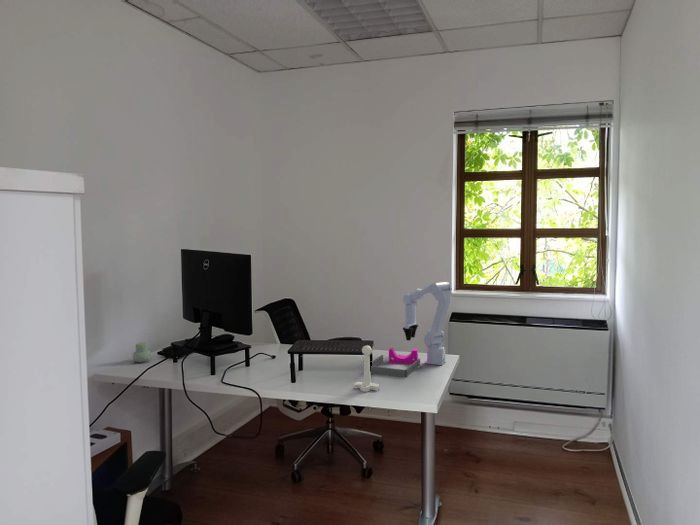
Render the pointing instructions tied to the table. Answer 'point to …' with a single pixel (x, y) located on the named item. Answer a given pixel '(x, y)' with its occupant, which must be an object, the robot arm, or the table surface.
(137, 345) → the air freshener
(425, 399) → the table surface
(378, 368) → the grey tray
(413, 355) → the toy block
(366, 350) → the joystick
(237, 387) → the table surface
